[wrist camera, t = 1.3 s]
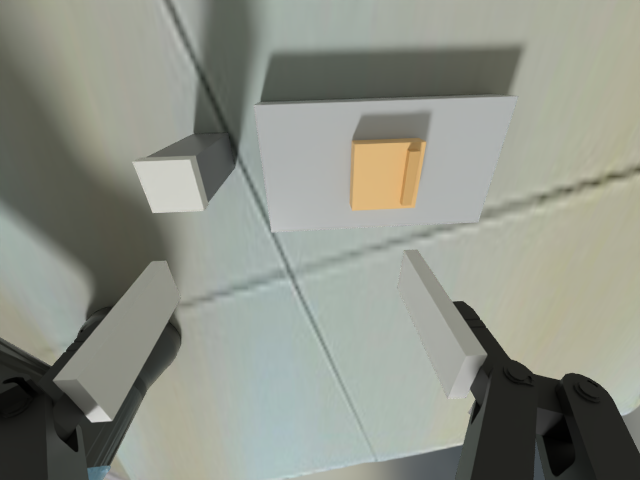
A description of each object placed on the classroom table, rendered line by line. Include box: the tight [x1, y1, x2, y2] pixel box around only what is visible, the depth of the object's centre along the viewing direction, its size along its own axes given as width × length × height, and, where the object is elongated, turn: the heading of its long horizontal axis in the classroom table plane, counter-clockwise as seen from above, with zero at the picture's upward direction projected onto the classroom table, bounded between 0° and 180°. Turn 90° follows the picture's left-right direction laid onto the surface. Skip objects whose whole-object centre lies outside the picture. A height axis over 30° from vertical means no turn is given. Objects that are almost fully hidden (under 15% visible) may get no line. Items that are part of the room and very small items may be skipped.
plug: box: [133, 133, 235, 213], centre depth 26 cm, size 4×4×12 cm
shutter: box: [349, 138, 426, 211], centre depth 28 cm, size 7×7×3 cm
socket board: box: [254, 94, 518, 232], centre depth 31 cm, size 26×14×4 cm, turn 92°
